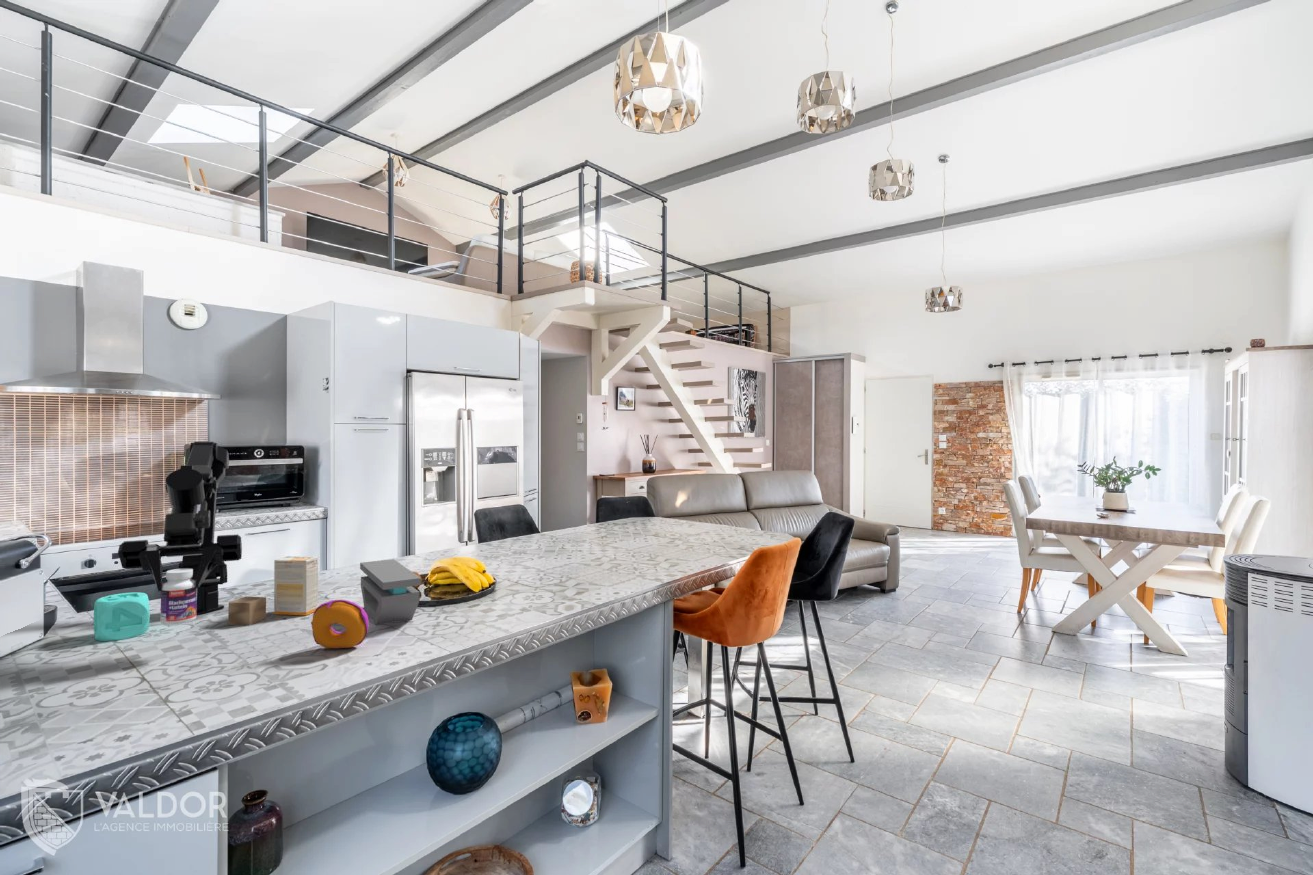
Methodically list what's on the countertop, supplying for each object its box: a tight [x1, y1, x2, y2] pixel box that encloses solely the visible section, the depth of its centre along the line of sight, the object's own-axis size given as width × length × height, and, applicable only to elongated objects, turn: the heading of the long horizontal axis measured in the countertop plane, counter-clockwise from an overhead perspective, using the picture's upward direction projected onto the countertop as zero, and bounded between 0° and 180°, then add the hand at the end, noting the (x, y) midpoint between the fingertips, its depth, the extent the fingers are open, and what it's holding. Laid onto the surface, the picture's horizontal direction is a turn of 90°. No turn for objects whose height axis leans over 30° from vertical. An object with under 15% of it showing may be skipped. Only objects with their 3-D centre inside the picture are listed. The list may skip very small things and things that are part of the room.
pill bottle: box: [159, 568, 198, 626], centre depth 114 cm, size 5×5×10 cm
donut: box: [310, 599, 370, 650], centre depth 118 cm, size 8×9×10 cm
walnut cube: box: [227, 596, 267, 626], centre depth 135 cm, size 5×5×5 cm
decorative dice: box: [93, 591, 151, 642], centre depth 125 cm, size 8×8×8 cm
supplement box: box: [273, 555, 319, 616], centre depth 142 cm, size 8×5×13 cm, turn 84°
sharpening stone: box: [359, 558, 422, 626], centre depth 140 cm, size 25×8×11 cm, turn 37°
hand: (178, 588), depth 112 cm, fingers closed on pill bottle, 5 cm apart
